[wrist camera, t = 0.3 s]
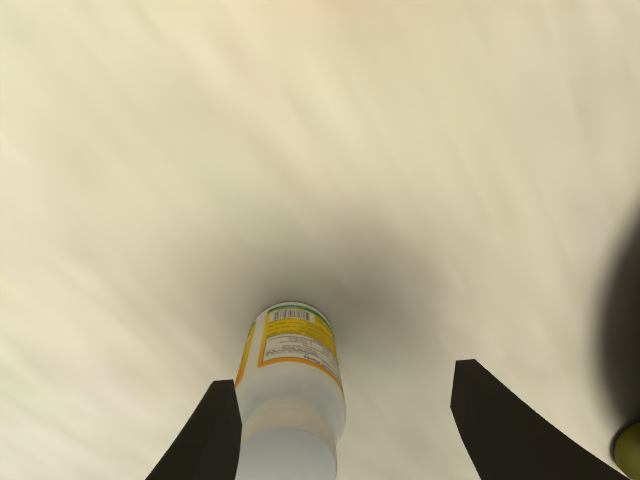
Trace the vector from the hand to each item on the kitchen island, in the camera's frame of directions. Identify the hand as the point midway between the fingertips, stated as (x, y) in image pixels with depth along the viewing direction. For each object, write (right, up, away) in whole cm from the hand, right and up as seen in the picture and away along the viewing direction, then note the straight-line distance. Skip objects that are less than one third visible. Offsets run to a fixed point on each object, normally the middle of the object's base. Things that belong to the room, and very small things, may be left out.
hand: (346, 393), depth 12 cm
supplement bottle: (-3, -1, +11) cm, 12 cm away
